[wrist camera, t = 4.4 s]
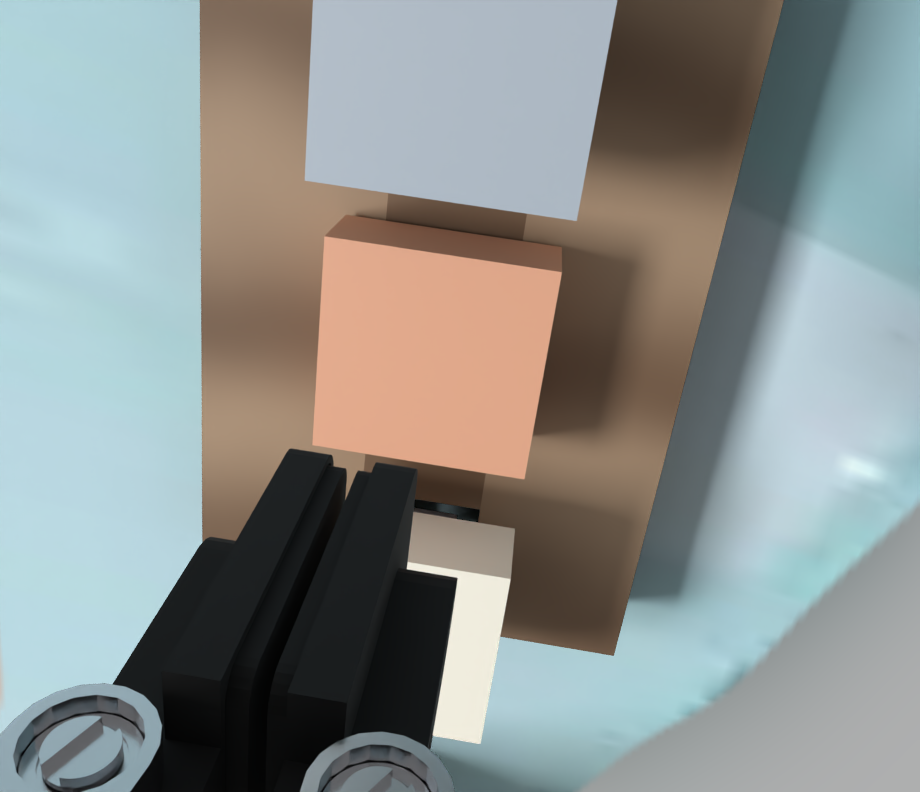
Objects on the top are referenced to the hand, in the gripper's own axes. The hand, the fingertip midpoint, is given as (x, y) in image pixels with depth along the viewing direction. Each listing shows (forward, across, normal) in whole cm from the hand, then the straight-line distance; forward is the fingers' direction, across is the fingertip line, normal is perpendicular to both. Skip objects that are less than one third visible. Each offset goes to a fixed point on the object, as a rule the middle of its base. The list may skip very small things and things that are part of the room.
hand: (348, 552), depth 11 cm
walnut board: (+13, 0, +1) cm, 13 cm away
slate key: (+11, 0, -5) cm, 12 cm away
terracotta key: (+13, 0, +1) cm, 13 cm away
